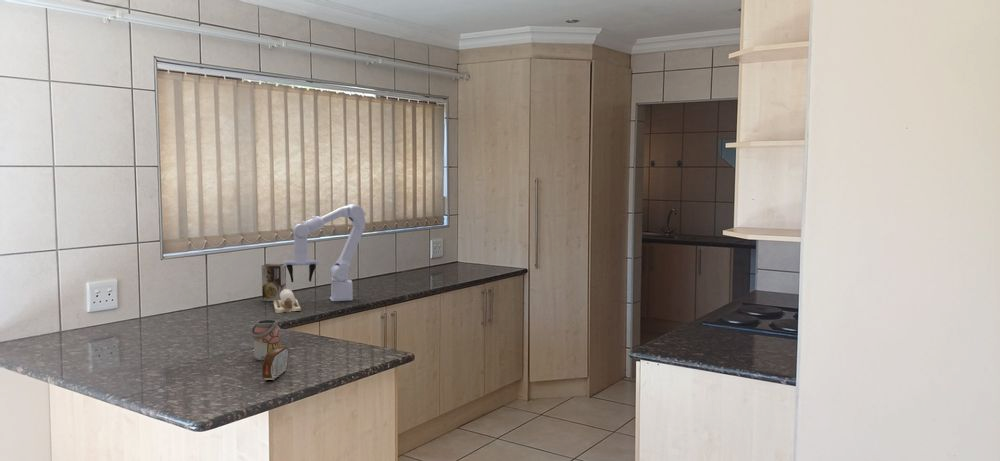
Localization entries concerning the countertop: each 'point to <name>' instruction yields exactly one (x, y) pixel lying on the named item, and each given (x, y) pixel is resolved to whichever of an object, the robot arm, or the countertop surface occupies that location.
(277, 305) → the roll holder
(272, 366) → the tin
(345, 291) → the robot arm
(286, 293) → the paper roll
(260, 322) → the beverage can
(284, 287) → the coffee box
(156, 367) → the countertop surface
